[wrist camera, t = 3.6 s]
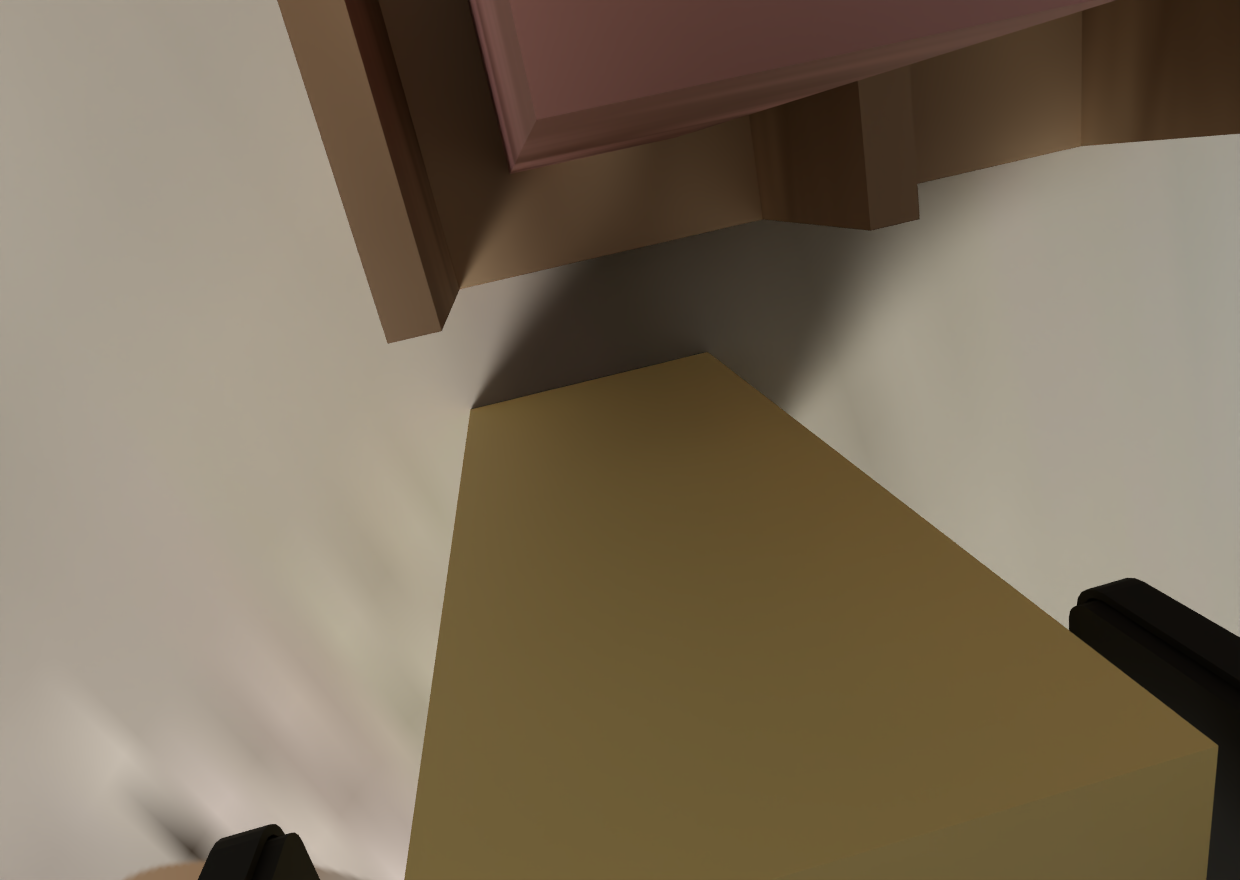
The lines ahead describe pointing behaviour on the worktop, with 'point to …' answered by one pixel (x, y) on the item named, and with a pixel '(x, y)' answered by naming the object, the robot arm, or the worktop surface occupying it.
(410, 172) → the rack
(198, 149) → the worktop surface
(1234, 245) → the worktop surface
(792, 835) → the yellow rectangular block
